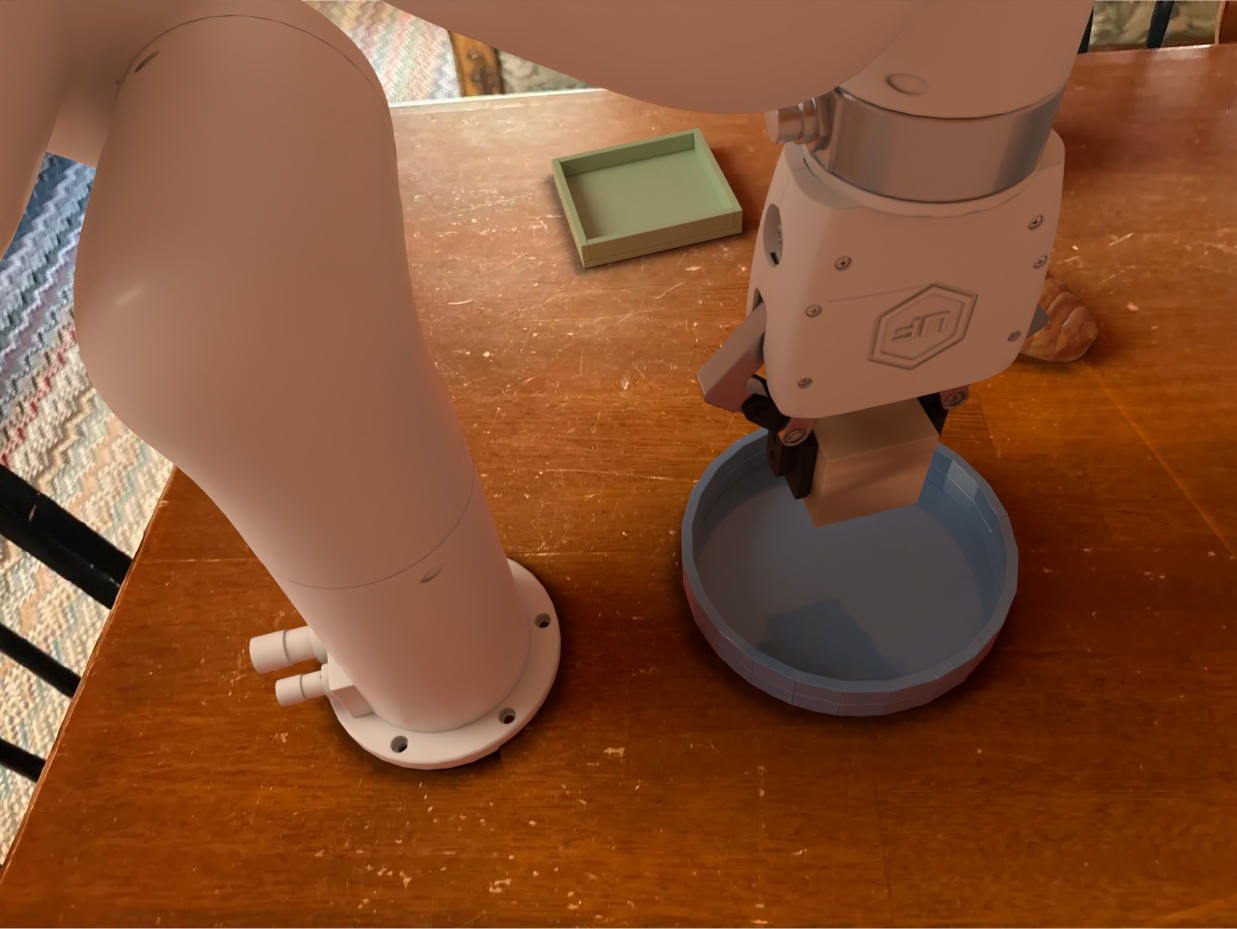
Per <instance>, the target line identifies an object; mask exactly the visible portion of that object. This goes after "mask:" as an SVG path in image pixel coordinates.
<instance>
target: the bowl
mask: <svg viewBox="0 0 1237 929" xmlns="http://www.w3.org/2000/svg"><path fill="white" fill-rule="evenodd" d="M767 436H768V430H767V429H765V428H763V427H760V428H758V429H756V430H754V431H752V432H750V433H747V434H746V435H744V436H742V437H740V438H738V439H737V440H735V441H734V442H733V443H732V444H731V445H730V446H728V447H727V448H726V449H725V450H724V451H723V452H721V453H720V454H719V455H718V456H716V458H715V459H713V460H712V461H711V462H710V463H709V464H708V466H707V468H706V469H705V471H704V472H703V473H702V475H701V476H700V478H699V480H698V481H697V483H696V484H695V486H694V487H693V488H692V490H691V492H690V495H689V498H688V501H687V505H686V508H685V511H684V514H683V519H682V521H681V526H680V527H681V528H680V530H681V563H682V581H683V582H682V584H683V590H684V592H685V596H686V598H687V602H688V605H689V607H690V611H691V614H692V617H693V620H694V622H695V624H696V626H697V627H698V629H699V631H701V633H702V635H703V636H704V638H705V640H706V641H707V643H708V644H709V645H710V647H712V650H713V651H714V652H715V654H716V655H717V656H718V657H719V658H720V659H721V660H722V661H723V662H724V663H725V664H726V665H728V667H730V668H731V669H732V670H733V671H734V672H735V673H736V674H738V675H739V676H741V677H742V678H743V679H744V680H745V681H746V682H748V683H749V684H750V685H751V686H753V687H755V688H756V689H759V690H761V691H763V692H765V693H766V694H768V695H769V696H772V697H774V698H776V699H779V700H781V701H782V702H784V703H787V704H789V705H790V706H791V705H792V706H793V707H794V706H795V707H798V708H803V709H806V710H809V711H813V712H817V713H823V714H829V715H833V716H839V717H847V716H848V717H870V716H871V717H872V716H888V715H891V714H894V713H899V712H902V711H903V712H904V711H907V710H910V709H913V708H917V707H920V706H924V705H927V704H929V703H931V702H933V701H934V700H936V699H938V698H939V697H941V696H942V695H944V694H946V693H948V692H949V691H951V690H952V689H954V688H956V687H958V685H960V684H962V683H963V682H965V681H966V679H968V677H969V676H970V675H971V674H972V672H974V670H975V669H976V668H977V667H978V666H979V664H981V662H982V661H983V660H984V659H985V658H986V656H987V655H989V653H990V651H991V650H992V647H993V646H994V644H995V642H996V639H998V636H999V634H1000V632H1001V630H1002V628H1003V626H1004V624H1005V621H1006V618H1007V616H1008V614H1009V612H1010V609H1011V607H1012V604H1013V602H1014V599H1015V596H1016V594H1017V590H1018V581H1019V580H1018V575H1019V557H1020V556H1019V554H1020V553H1019V548H1018V545H1017V542H1016V538H1015V534H1014V531H1013V527H1012V523H1011V519H1010V517H1009V513H1007V511H1006V509H1005V507H1004V505H1003V504H1002V503H1001V501H1000V499H999V498H998V496H997V494H996V493H995V491H994V490H993V488H992V486H991V484H990V483H989V482H988V481H987V480H986V479H985V478H984V477H983V476H982V475H981V474H980V473H979V472H978V471H977V470H976V469H975V468H974V467H973V466H972V465H971V464H970V463H969V462H968V461H967V460H966V459H965V458H964V457H963V456H961V454H959V453H958V452H956V451H954V450H953V449H951V448H950V447H948V446H946V445H945V444H943V443H941V442H940V441H938V442H937V445H936V448H935V451H934V454H933V457H932V460H931V463H930V466H929V469H928V472H927V474H926V477H925V480H924V483H923V486H922V489H921V492H920V495H919V498H918V501H917V503H916V504H912V505H908V506H904V507H900V508H896V509H891V510H887V511H883V512H879V513H875V514H871V515H867V516H862V517H858V518H854V519H850V520H846V521H842V522H837V523H833V524H829V525H825V526H821V527H815V526H814V524H813V522H812V519H811V517H810V515H809V513H808V511H807V508H806V506H805V504H804V502H803V500H802V499H797V500H795V498H794V497H793V494H792V492H791V490H790V488H789V485H788V483H787V481H786V479H785V477H784V476H780V477H775V476H774V474H773V472H772V470H771V468H770V465H769V462H768V459H767V454H766V445H767Z"/></svg>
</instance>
